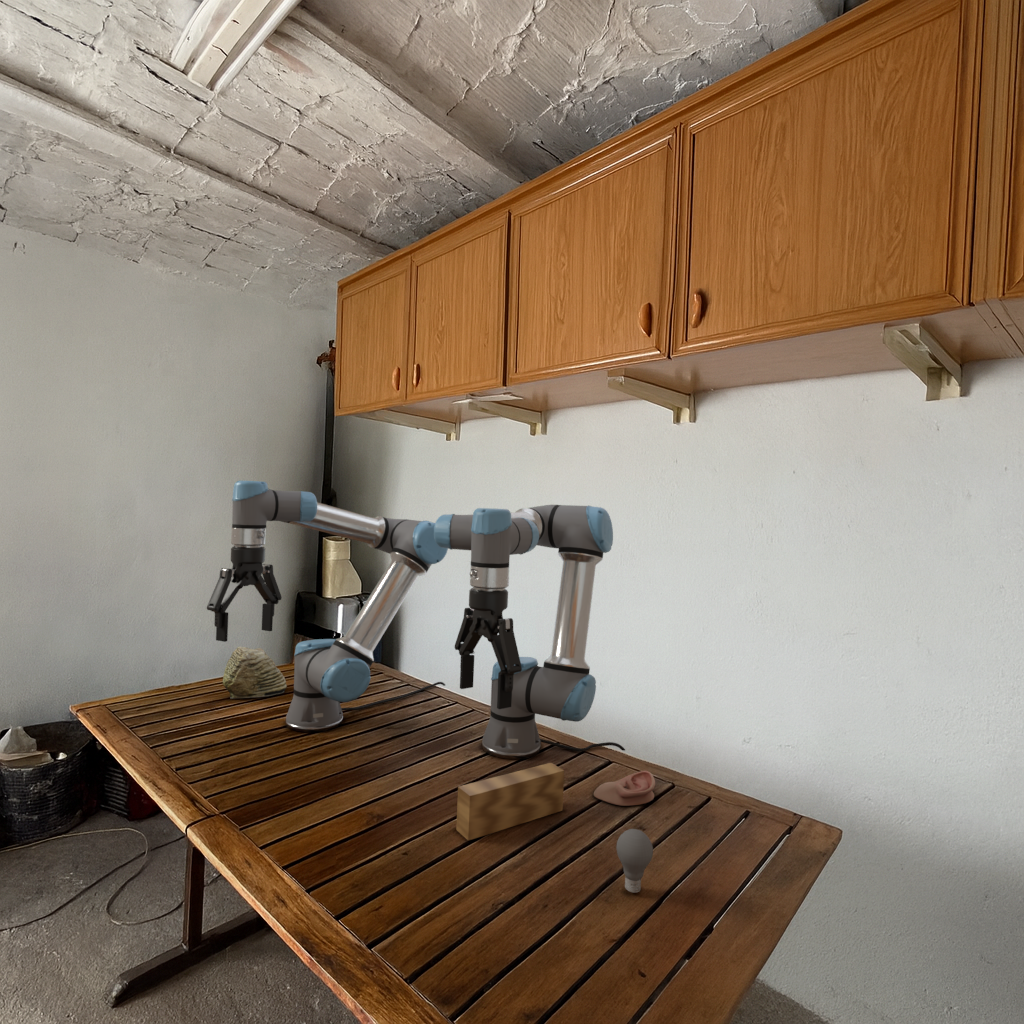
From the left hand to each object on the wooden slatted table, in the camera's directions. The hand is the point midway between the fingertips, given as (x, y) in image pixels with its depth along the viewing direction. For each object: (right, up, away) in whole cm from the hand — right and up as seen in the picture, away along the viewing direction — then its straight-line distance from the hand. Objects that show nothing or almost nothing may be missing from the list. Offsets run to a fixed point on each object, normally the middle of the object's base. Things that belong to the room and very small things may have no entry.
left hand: (245, 635), depth 150 cm
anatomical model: (+88, -34, -9) cm, 95 cm away
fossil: (-17, -28, +48) cm, 58 cm away
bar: (+63, -33, -22) cm, 75 cm away
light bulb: (+83, -34, -44) cm, 100 cm away
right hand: (+58, -7, -27) cm, 64 cm away
